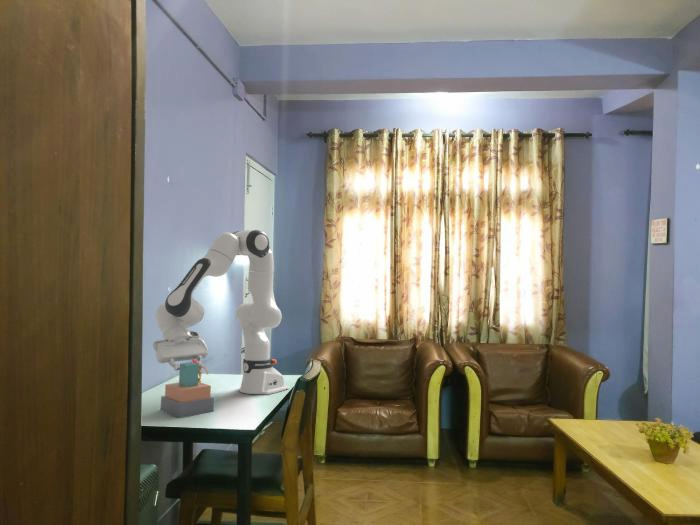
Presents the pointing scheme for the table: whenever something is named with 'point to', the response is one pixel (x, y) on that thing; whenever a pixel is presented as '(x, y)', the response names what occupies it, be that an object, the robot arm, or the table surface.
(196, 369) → the teal brick
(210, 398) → the brick tower
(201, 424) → the table surface
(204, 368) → the figurine
